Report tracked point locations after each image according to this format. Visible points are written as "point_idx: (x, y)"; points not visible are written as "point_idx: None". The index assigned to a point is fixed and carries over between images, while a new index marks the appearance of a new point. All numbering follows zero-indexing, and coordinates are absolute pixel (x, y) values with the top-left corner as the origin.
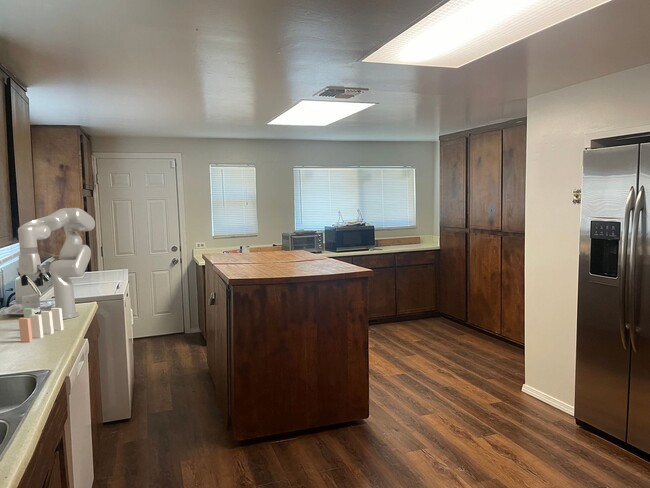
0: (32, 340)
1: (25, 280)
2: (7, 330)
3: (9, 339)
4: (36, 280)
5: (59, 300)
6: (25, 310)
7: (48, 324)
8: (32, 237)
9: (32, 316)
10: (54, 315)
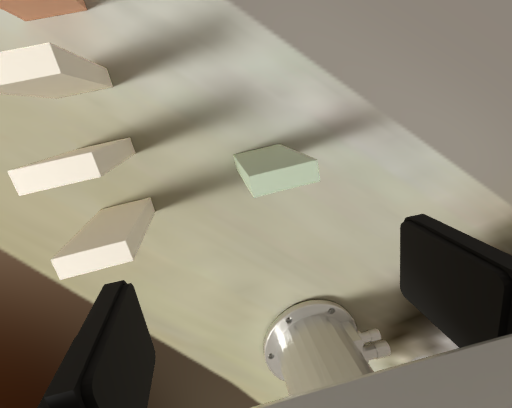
0: (23, 18)
1: (453, 304)
2: (367, 112)
3: (198, 2)
4: (86, 349)
5: (329, 381)
6: (297, 162)
7: (67, 153)
8: None
9: (26, 49)
10: (111, 229)
